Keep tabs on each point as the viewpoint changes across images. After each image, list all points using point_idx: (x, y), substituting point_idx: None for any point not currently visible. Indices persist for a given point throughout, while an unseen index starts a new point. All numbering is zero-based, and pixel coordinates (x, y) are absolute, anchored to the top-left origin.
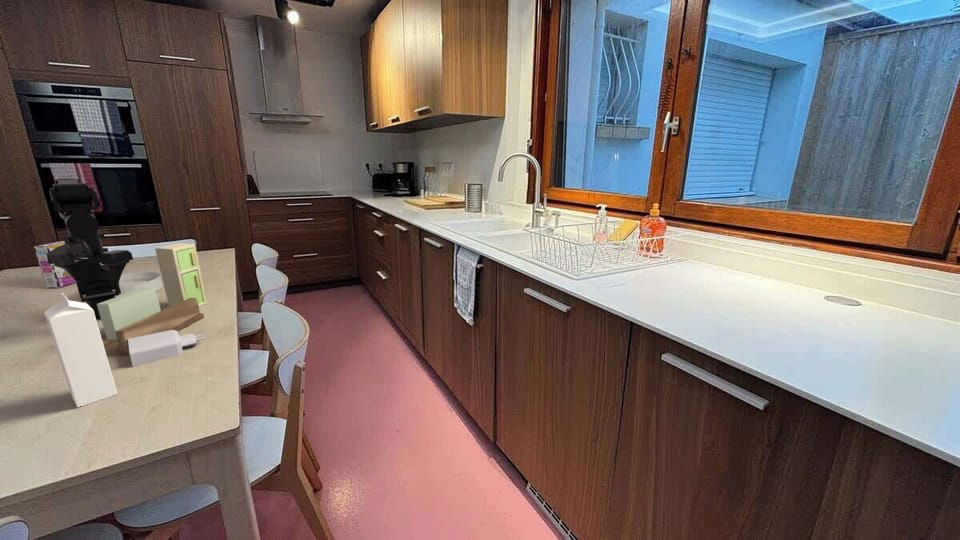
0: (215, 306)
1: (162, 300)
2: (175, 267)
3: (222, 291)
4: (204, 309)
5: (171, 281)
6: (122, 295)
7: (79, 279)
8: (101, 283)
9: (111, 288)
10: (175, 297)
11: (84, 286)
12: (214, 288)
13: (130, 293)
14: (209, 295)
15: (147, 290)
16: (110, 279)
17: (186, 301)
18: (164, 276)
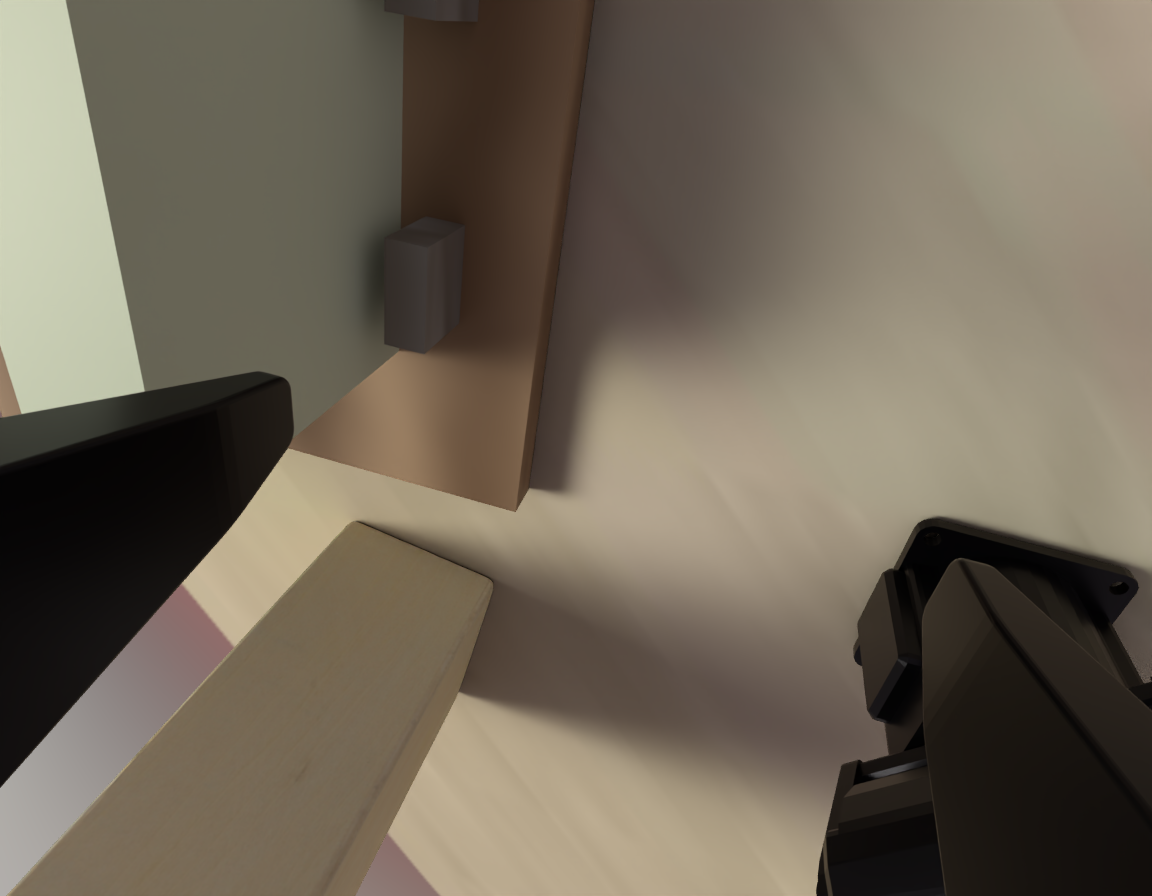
0: (249, 583)
1: (701, 797)
2: (28, 886)
3: (409, 822)
4: (276, 547)
5: (264, 762)
6: (74, 148)
7: (1011, 699)
8: (940, 872)
9: (848, 801)
10: (356, 630)
11: (936, 593)
12: (496, 884)
13: (65, 250)
14: (439, 784)
15: (17, 384)
16: (98, 422)
17: (15, 396)
18: (304, 844)
